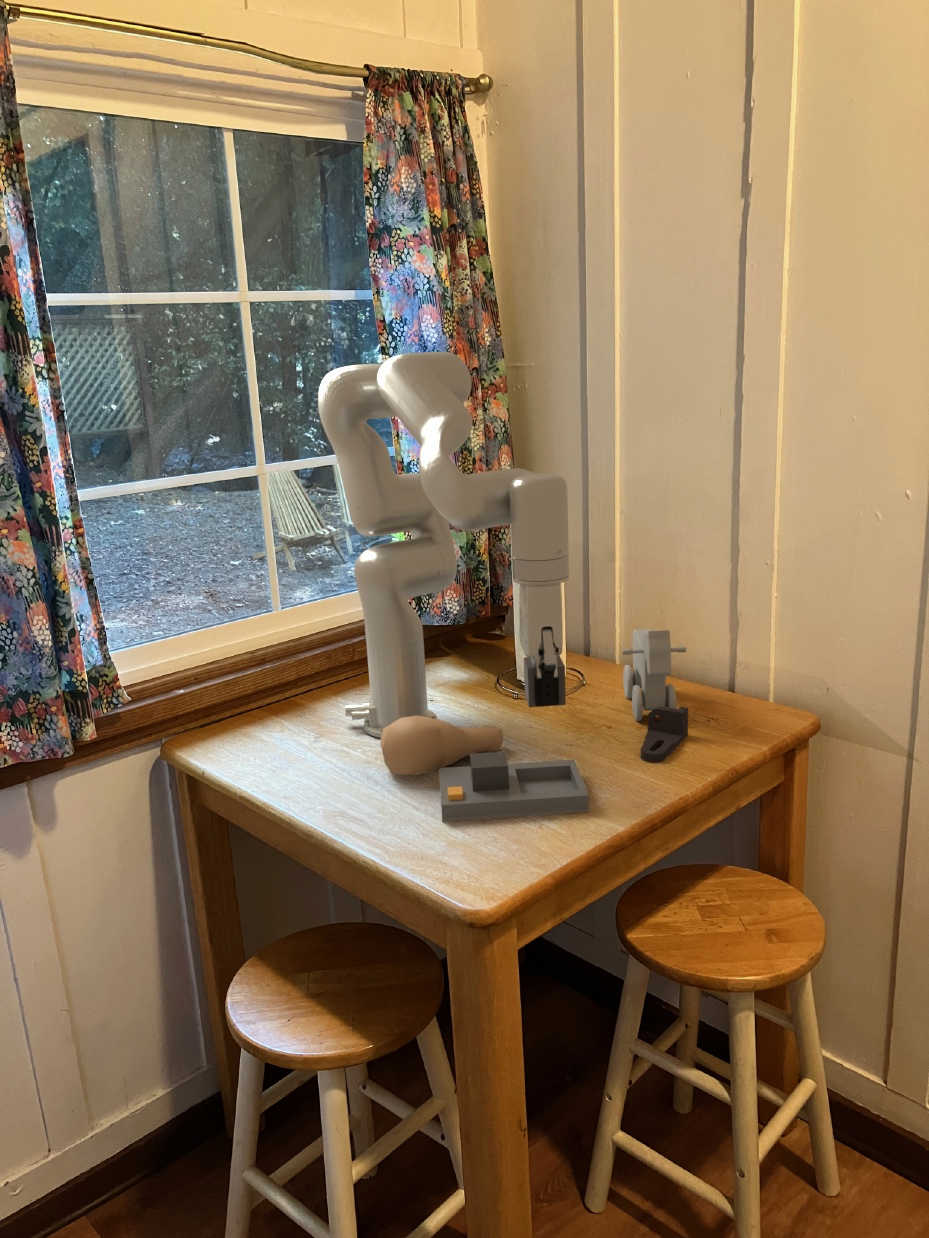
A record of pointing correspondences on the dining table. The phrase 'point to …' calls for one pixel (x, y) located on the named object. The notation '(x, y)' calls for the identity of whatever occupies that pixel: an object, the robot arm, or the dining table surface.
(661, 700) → the pony
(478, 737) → the squash
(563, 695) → the plug
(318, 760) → the dining table surface
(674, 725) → the bracket
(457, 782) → the grey fixture base
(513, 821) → the dining table surface
